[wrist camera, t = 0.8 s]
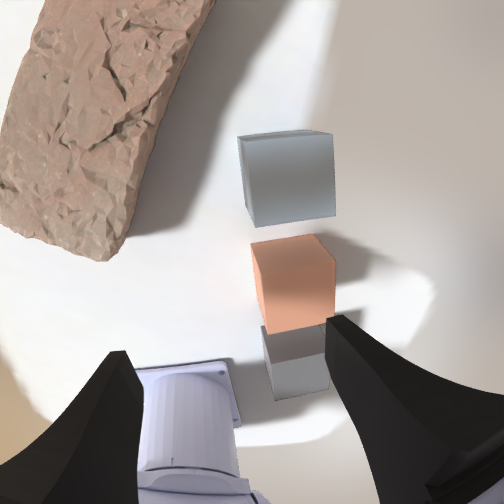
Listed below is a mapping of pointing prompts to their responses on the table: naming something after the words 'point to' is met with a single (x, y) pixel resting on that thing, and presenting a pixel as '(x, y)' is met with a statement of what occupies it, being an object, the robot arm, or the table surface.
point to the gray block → (296, 361)
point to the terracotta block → (294, 282)
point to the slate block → (288, 176)
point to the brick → (90, 117)
